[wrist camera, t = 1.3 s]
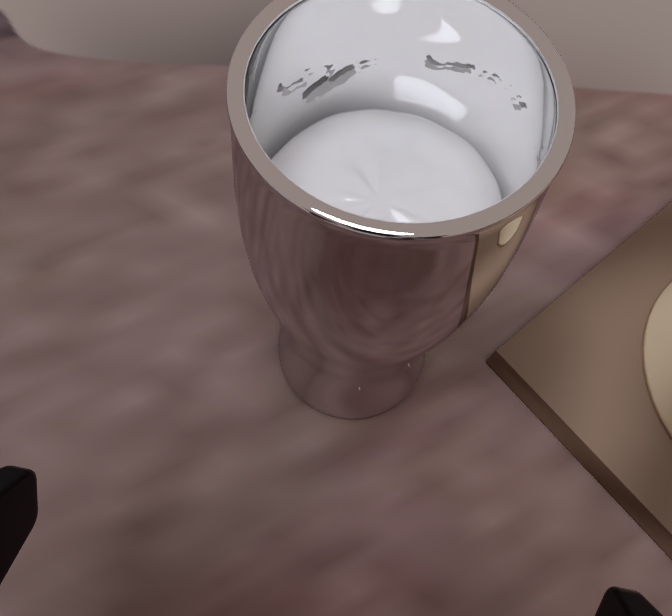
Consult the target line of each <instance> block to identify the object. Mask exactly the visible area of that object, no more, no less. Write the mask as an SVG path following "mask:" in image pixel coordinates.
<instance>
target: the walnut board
mask: <svg viewBox="0 0 672 616" xmlns="http://www.w3.org/2000/svg"><path fill="white" fill-rule="evenodd" d="M486 363H487V364H488V365H489V366H490V367H491V368H492V369H493V370H494V371H495V372H496V373H497V375H498V376H499V377H500V378H501V379H502V380H503V381H504V382H505V383H506V384H507V385H508V386H509V387H510V388H511V389H512V390H513V392H514V393H515V394H516V395H517V396H518V397H519V398H520V399H521V400H522V401H523V402H524V403H525V404H526V405H527V406H528V407H529V409H530V410H531V411H532V412H533V413H534V414H535V415H536V416H537V417H538V418H539V419H540V420H541V421H542V422H543V423H544V424H545V425H546V427H547V428H548V429H549V430H550V431H551V432H552V433H553V434H554V435H555V436H556V437H557V438H558V439H559V440H560V441H561V442H562V444H563V445H564V446H565V447H566V448H567V449H568V450H569V451H570V452H571V453H572V454H573V455H574V456H575V457H576V458H577V459H578V461H579V462H580V463H581V464H582V465H583V466H584V467H585V468H586V469H587V470H588V471H589V472H590V473H591V474H592V475H593V476H594V477H595V479H596V480H597V481H598V482H599V483H600V484H601V485H602V486H603V487H604V488H605V489H606V490H607V491H608V492H609V493H610V494H611V496H612V497H613V498H614V499H615V500H616V501H617V502H618V503H619V504H620V505H621V506H622V507H623V508H624V509H625V510H626V511H627V513H628V514H629V515H630V516H631V517H632V518H633V519H634V520H635V521H636V522H637V523H638V524H639V525H640V526H641V527H642V528H643V529H644V531H645V532H646V533H647V534H648V535H649V536H650V537H651V538H652V539H653V540H654V541H655V542H656V543H657V544H658V545H659V546H660V548H661V549H662V550H663V551H664V552H665V553H666V554H667V555H668V556H669V557H670V558H671V559H672V202H671V203H669V204H668V205H667V206H666V207H665V208H663V209H662V210H661V211H660V212H659V213H658V214H656V215H655V216H654V217H653V218H652V219H650V220H649V221H648V222H647V223H646V224H645V225H643V226H642V227H641V228H640V229H639V230H637V231H636V232H635V233H634V234H633V235H632V236H630V237H629V238H628V239H627V240H626V241H625V242H623V243H622V244H621V245H620V246H619V247H617V248H616V249H615V250H614V251H613V252H612V253H610V254H609V255H608V256H607V257H606V258H604V259H603V260H602V261H601V262H600V263H599V264H597V265H596V266H595V267H594V268H593V269H592V270H590V271H589V272H588V273H587V274H586V275H584V276H583V277H582V278H581V279H580V280H579V281H577V282H576V283H575V284H574V285H573V286H571V287H570V288H569V289H568V290H567V291H566V292H564V293H563V294H562V295H561V296H560V297H558V298H557V299H556V300H555V301H554V302H553V303H551V304H550V305H549V306H548V307H547V308H546V309H544V310H543V311H542V312H541V313H540V314H538V315H537V316H536V317H535V318H534V319H533V320H531V321H530V322H529V323H528V324H527V325H525V326H524V327H523V328H522V329H521V330H520V331H518V332H517V333H516V334H515V335H514V336H513V337H511V338H510V339H509V340H508V341H507V342H505V343H504V344H503V345H502V346H501V347H500V348H498V349H497V350H496V351H495V352H494V353H493V354H492V356H491V357H490V358H489V359H488V360H487V361H486Z"/></svg>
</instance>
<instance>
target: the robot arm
mask: <svg viewBox="0 0 672 616" xmlns="http://www.w3.org/2000/svg"><path fill="white" fill-rule="evenodd" d="M37 513H38V502H37V479H36V474H35V472H34V471H32V470H30V469H26V468H21V467H16V466H5V467H2V468H0V584H1V582H2V581H3V579H4V577H5V575H6V574H7V572H8V570H9V568H10V567H11V565H12V563H13V561H14V560H15V558H16V556H17V554H18V553H19V551H20V549H21V547H22V546H23V544H24V542H25V540H26V539H27V537H28V535H29V533H30V532H31V530H32V528H33V526H34V524H35V521H36V518H37ZM595 616H663V615H662V614H661V613H660V612H659V611H658V610H657V609H656V608H655V607H654V606H653V605H652V604H651V603H650V602H649V601H648V600H647V599H646V598H645V597H644V596H643V595H641V594H640V593H639V592H637V591H634V590H629V589H625V588H620V587H610V588H609V589H607V591H606V592H605V594H604V596H603V599H602V601H601V603H600V605H599V607H598V610H597V612H596V614H595Z"/></svg>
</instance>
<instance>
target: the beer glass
mask: <svg viewBox="0 0 672 616" xmlns="http://www.w3.org/2000/svg"><path fill="white" fill-rule="evenodd" d="M226 103H227V111H228V116H229V120H230V126H231V142H232V162H233V175H234V188H235V197H236V203H237V210H238V216H239V223H240V229H241V234H242V238H243V242H244V245H245V249H246V252H247V256H248V259H249V263H250V267H251V269H252V272H253V275H254V277H255V279H256V282H257V284H258V286H259V288H260V290H261V292H262V294H263V296H264V298H265V300H266V302H267V303H268V305H269V307H270V309H271V310H272V312H273V313H274V315H275V316H276V318H277V319H278V321H279V322H280V324H281V325H282V326H281V330H280V334H279V342H278V351H279V360H280V364H281V368H282V371H283V373H284V376H285V378H286V380H287V381H288V383H289V385H290V386H291V388H292V389H293V390H294V391H295V393H296V394H297V395H298V396H299V397H300V398H301V399H302V400H303V401H305V402H306V403H307V404H308V405H310V406H311V407H313V408H315V409H317V410H318V411H321V412H323V413H325V414H328V415H331V416H335V417H339V418H347V419H359V418H367V417H371V416H375V415H378V414H381V413H383V412H385V411H387V410H389V409H391V408H393V407H394V406H396V405H397V404H398V403H400V402H401V401H402V400H403V399H404V398H405V397H406V396H407V395H408V394H409V393H410V391H411V390H412V389H413V387H414V385H415V384H416V382H417V380H418V378H419V375H420V373H421V370H422V366H423V363H424V358H425V353H427V352H428V351H430V350H431V349H433V348H434V347H436V346H437V345H439V344H440V343H441V342H443V341H444V340H445V339H447V338H448V337H449V336H450V335H451V334H452V333H454V332H455V331H456V330H457V329H458V328H459V327H461V326H462V325H463V324H464V323H465V322H466V321H467V320H468V319H469V318H470V317H471V316H472V315H473V314H474V313H475V312H476V311H477V310H478V308H479V307H480V306H481V305H482V303H483V302H484V301H485V299H486V298H487V297H488V296H489V294H490V293H491V292H492V290H493V289H494V288H495V287H496V285H497V284H498V282H499V281H500V280H501V278H502V276H503V275H504V273H505V271H506V270H507V268H508V266H509V265H510V263H511V261H512V260H513V258H514V256H515V255H516V253H517V251H518V250H519V248H520V246H521V244H522V242H523V240H524V238H525V236H526V234H527V232H528V230H529V228H530V226H531V224H532V222H533V220H534V218H535V216H536V214H537V212H538V210H539V208H540V205H541V203H542V201H543V199H544V197H545V195H546V192H547V190H548V188H549V186H550V184H551V182H552V181H553V180H554V178H555V177H556V175H557V174H558V172H559V171H560V169H561V167H562V166H563V164H564V162H565V160H566V157H567V155H568V153H569V150H570V147H571V144H572V140H573V136H574V131H575V123H576V103H575V96H574V90H573V86H572V82H571V79H570V76H569V73H568V71H567V68H566V66H565V63H564V61H563V59H562V58H561V56H560V54H559V52H558V50H557V49H556V47H555V46H554V44H553V43H552V41H551V40H550V39H549V37H548V36H547V35H546V34H545V32H544V31H543V30H542V29H541V28H540V27H539V26H538V25H537V24H536V23H535V22H534V21H533V20H532V19H531V18H530V17H529V16H528V15H527V14H525V12H523V11H522V10H521V9H520V8H519V7H517V6H516V5H514V4H513V3H511V2H510V1H509V0H273V1H272V2H271V3H270V4H269V5H268V6H266V7H265V8H264V9H263V10H262V11H261V12H260V13H259V14H258V15H257V16H256V17H255V19H254V20H253V21H252V22H251V23H250V25H249V26H248V27H247V29H246V30H245V32H244V33H243V35H242V36H241V38H240V40H239V42H238V44H237V46H236V48H235V50H234V53H233V55H232V58H231V62H230V65H229V69H228V74H227V82H226Z"/></svg>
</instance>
